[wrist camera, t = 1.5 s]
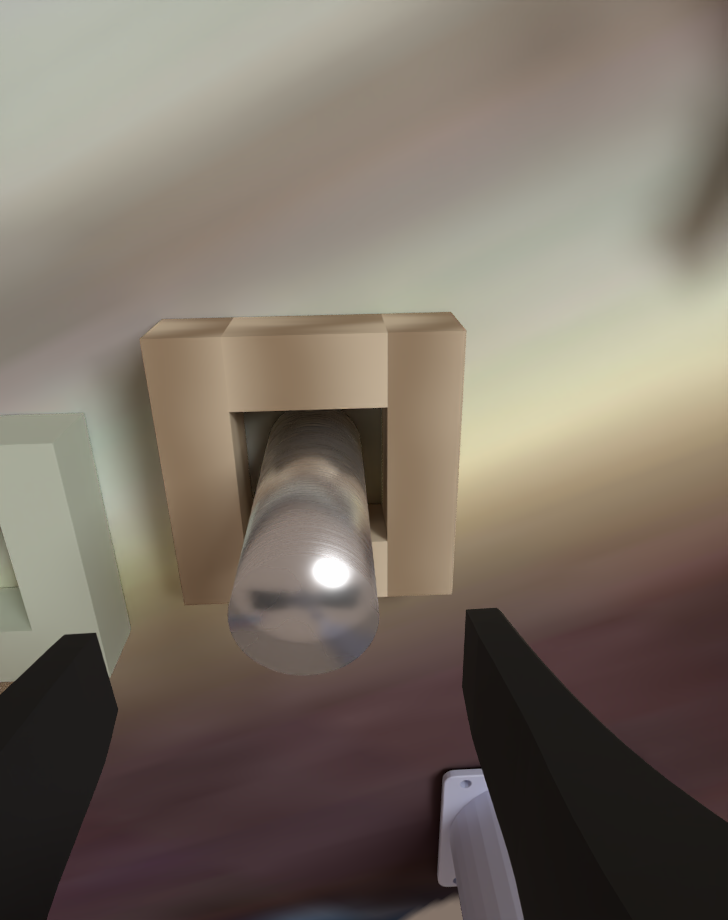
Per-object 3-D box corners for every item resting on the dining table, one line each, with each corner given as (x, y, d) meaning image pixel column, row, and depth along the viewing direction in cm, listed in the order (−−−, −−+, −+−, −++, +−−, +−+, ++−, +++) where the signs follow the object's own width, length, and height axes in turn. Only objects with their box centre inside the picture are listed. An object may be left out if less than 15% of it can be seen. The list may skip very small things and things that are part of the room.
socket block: (451, 311, 20) (466, 330, 17) (440, 553, 23) (452, 593, 21) (162, 319, 19) (139, 338, 17) (199, 562, 23) (184, 605, 21)
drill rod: (360, 401, 21) (378, 551, 13) (362, 487, 22) (380, 671, 14) (263, 404, 21) (219, 557, 12) (271, 490, 22) (235, 678, 14)
